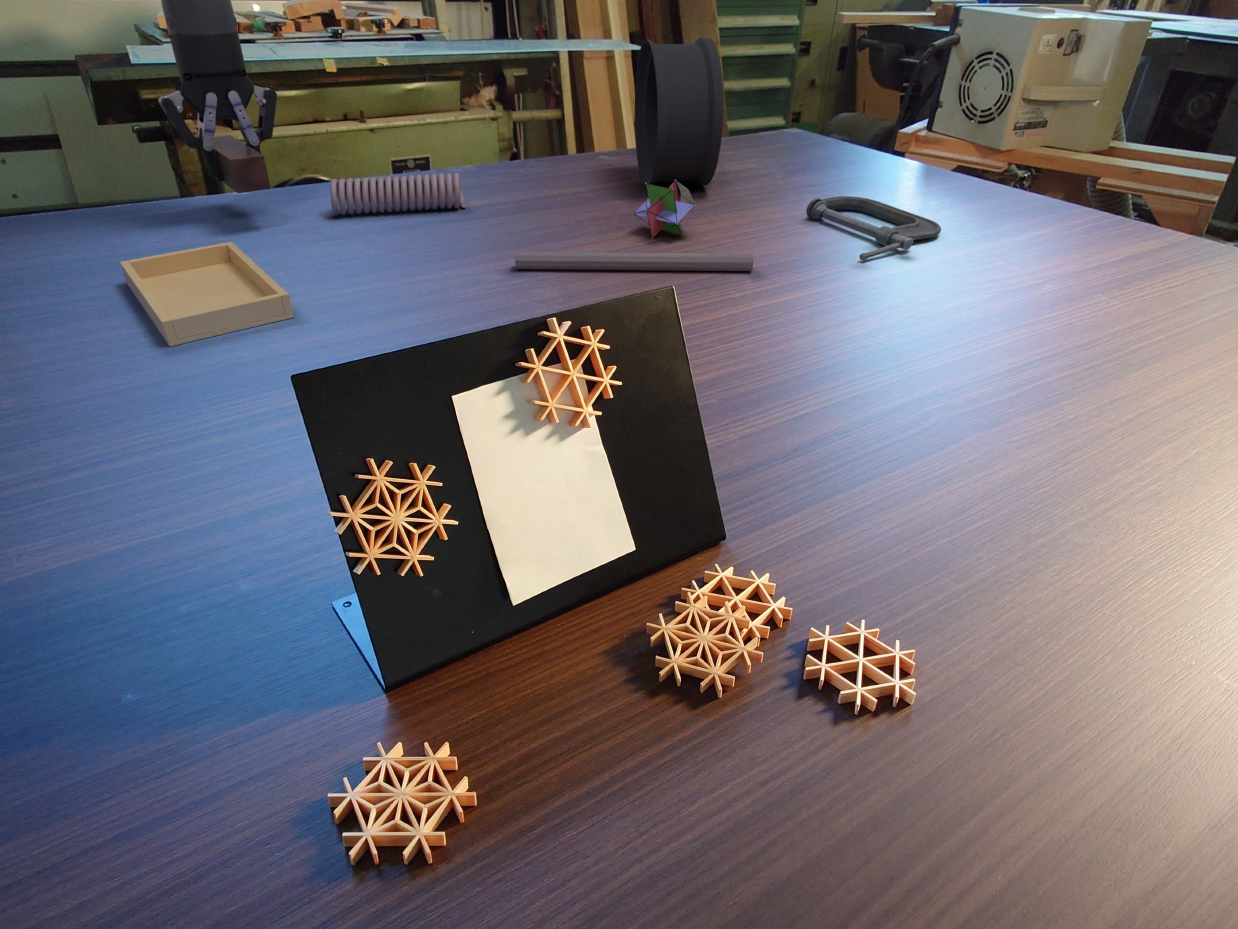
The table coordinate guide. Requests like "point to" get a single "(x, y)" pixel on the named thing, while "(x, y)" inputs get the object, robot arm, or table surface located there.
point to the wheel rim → (678, 111)
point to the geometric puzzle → (665, 207)
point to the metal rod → (634, 261)
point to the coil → (396, 193)
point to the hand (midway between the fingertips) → (237, 176)
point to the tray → (205, 292)
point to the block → (241, 165)
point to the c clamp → (890, 237)
